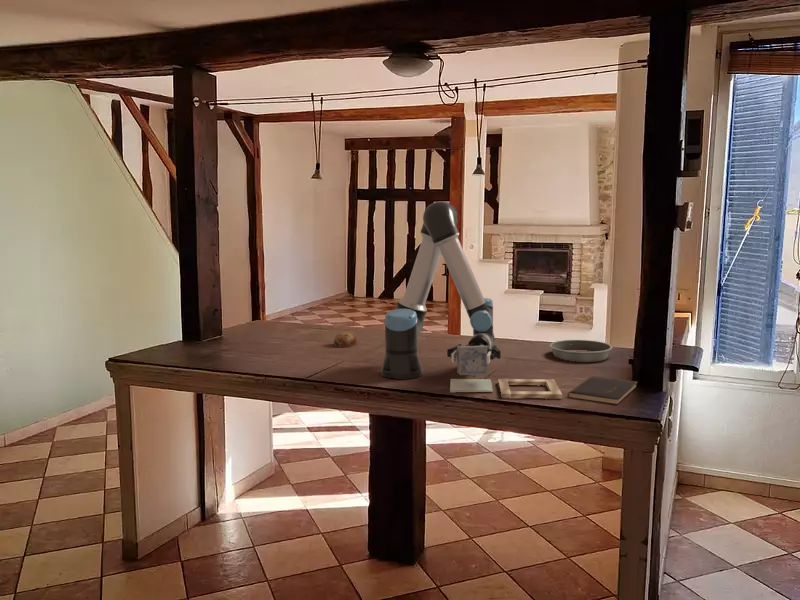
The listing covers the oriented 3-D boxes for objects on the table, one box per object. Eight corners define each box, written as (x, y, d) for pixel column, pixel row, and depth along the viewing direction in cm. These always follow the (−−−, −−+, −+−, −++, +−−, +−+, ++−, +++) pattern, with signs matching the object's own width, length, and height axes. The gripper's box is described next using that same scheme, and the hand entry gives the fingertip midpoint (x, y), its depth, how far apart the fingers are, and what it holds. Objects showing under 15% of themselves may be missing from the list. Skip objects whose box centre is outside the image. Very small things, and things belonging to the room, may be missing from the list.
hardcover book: (637, 388, 222) (637, 381, 222) (618, 406, 203) (618, 398, 203) (590, 382, 231) (590, 375, 230) (567, 398, 212) (567, 391, 212)
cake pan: (614, 351, 275) (614, 341, 274) (609, 365, 252) (609, 353, 252) (554, 348, 284) (554, 337, 283) (544, 360, 261) (544, 349, 261)
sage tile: (450, 392, 218) (450, 390, 218) (450, 381, 232) (450, 379, 232) (492, 392, 217) (492, 390, 217) (490, 381, 231) (490, 379, 231)
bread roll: (333, 352, 297) (326, 338, 294) (348, 339, 303) (342, 325, 300) (347, 355, 290) (340, 341, 287) (362, 342, 296) (356, 328, 293)
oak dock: (501, 398, 211) (501, 393, 211) (498, 383, 229) (498, 378, 229) (562, 398, 209) (562, 394, 209) (554, 383, 227) (554, 379, 227)
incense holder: (485, 371, 228) (484, 342, 227) (488, 377, 220) (488, 347, 219) (456, 372, 228) (456, 343, 227) (459, 378, 220) (458, 348, 218)
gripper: (512, 356, 238) (505, 371, 217) (448, 354, 244) (435, 368, 223) (512, 335, 237) (505, 349, 216) (447, 334, 243) (435, 346, 222)
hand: (470, 359), depth 219 cm, fingers closed on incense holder, 11 cm apart
